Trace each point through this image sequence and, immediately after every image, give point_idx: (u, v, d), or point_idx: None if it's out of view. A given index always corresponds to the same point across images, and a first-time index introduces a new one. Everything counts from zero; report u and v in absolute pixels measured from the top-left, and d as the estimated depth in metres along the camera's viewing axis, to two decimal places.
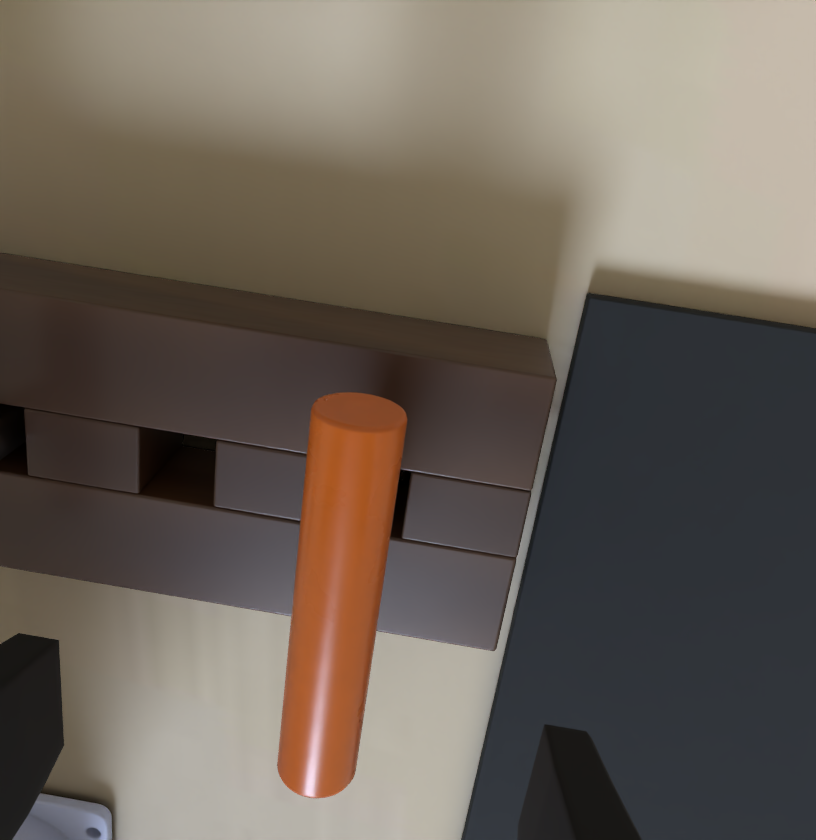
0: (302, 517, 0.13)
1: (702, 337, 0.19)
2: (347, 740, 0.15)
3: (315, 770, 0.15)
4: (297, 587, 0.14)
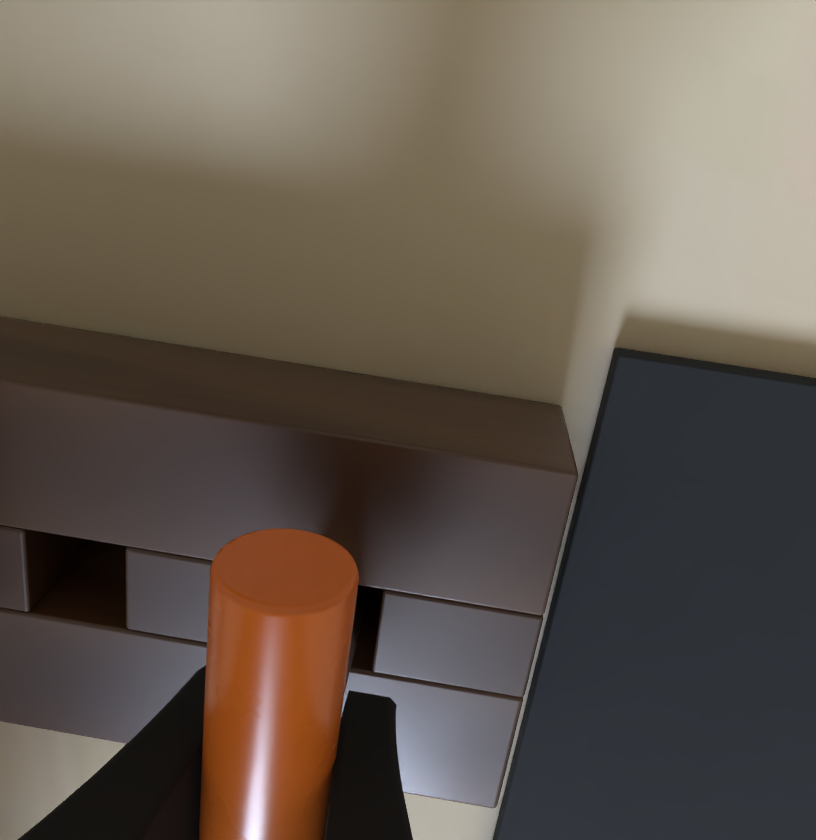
0: (204, 718, 0.09)
1: (767, 406, 0.14)
2: None
3: None
4: (202, 811, 0.09)
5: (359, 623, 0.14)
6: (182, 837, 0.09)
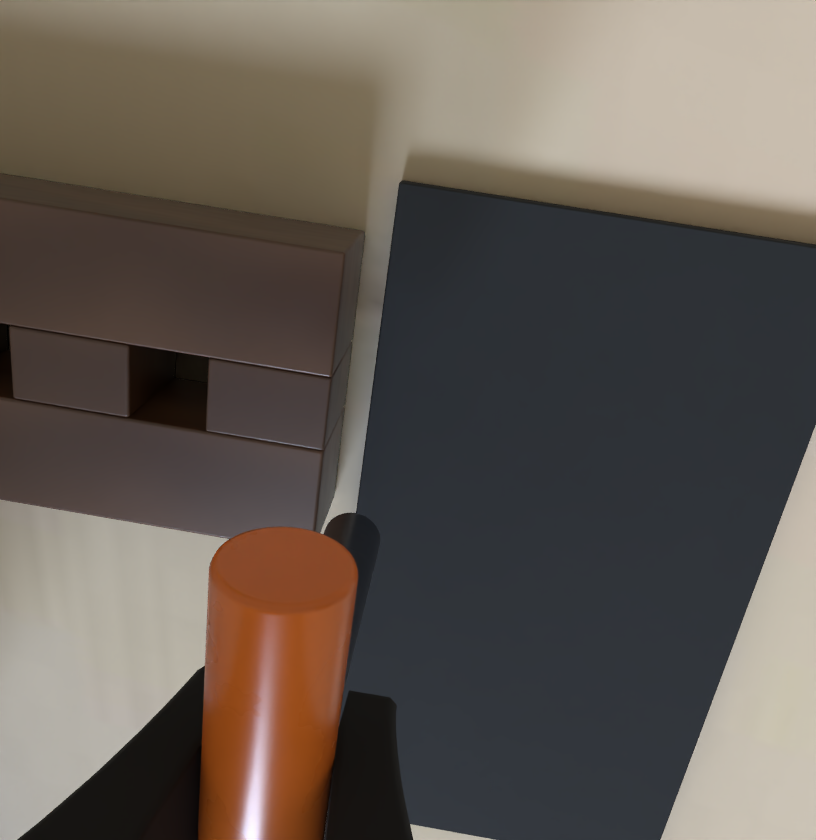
0: (203, 717, 0.09)
1: (517, 224, 0.18)
2: None
3: None
4: (201, 809, 0.09)
5: (358, 622, 0.14)
6: (182, 838, 0.09)
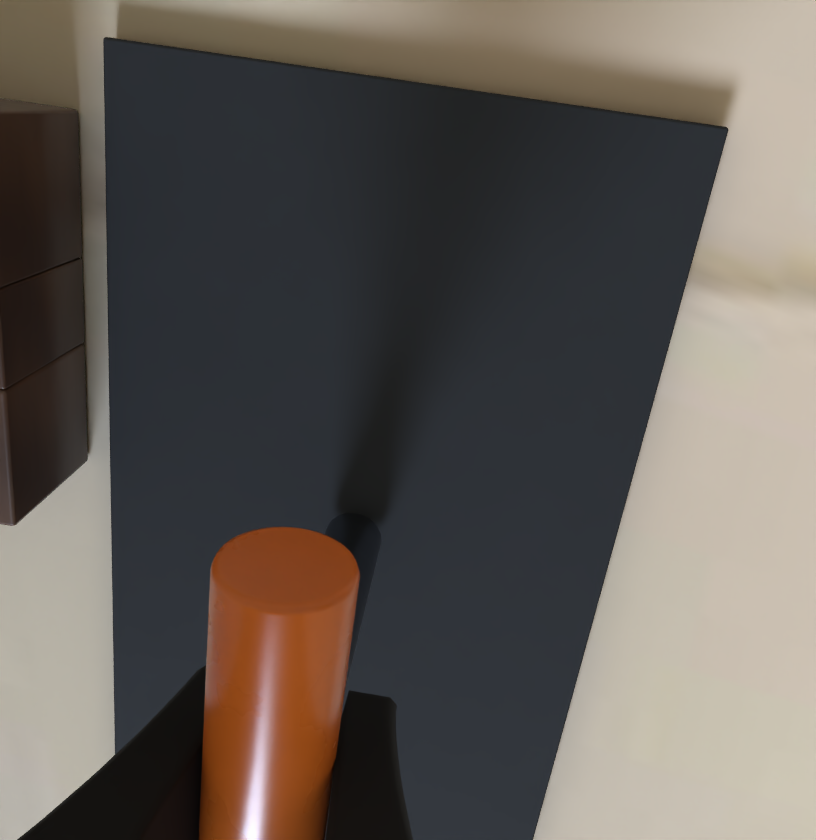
0: (204, 717, 0.09)
1: (259, 92, 0.14)
2: None
3: None
4: (202, 810, 0.09)
5: (359, 622, 0.14)
6: (182, 837, 0.09)
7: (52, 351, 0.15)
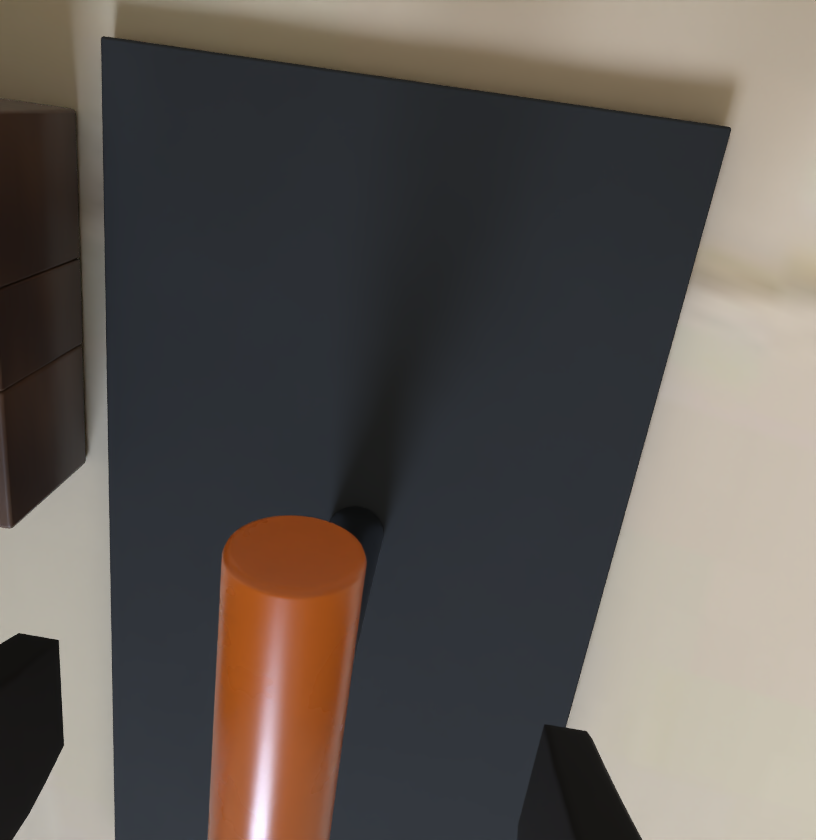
0: (215, 700, 0.09)
1: (258, 92, 0.14)
2: None
3: None
4: (212, 791, 0.10)
5: (363, 613, 0.14)
6: None
7: (49, 353, 0.15)
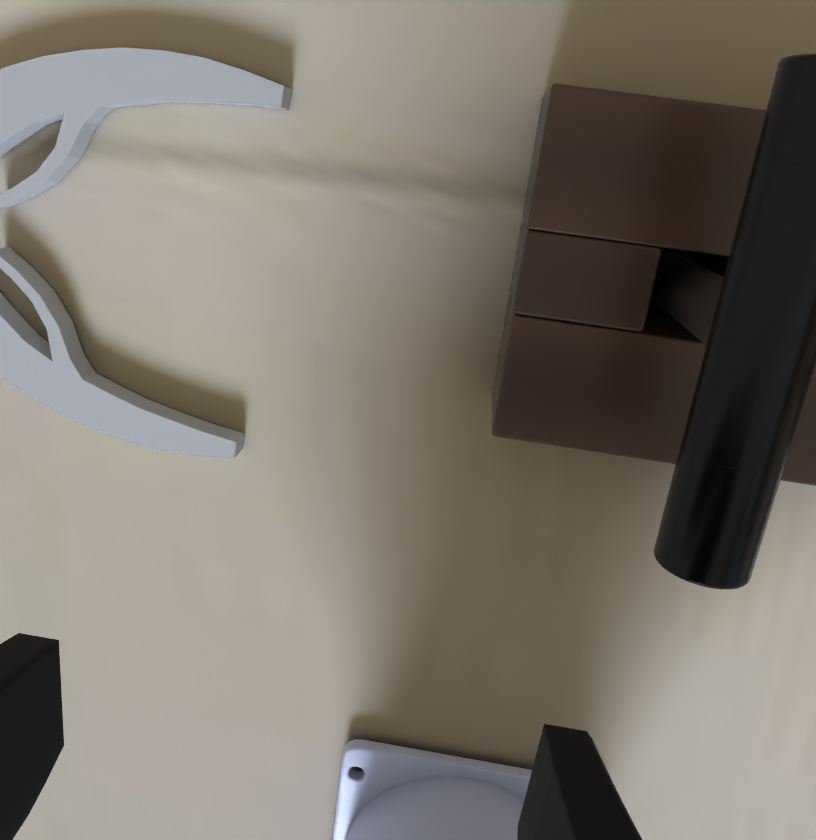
0: None
1: None
2: None
3: None
4: None
5: None
6: None
7: None
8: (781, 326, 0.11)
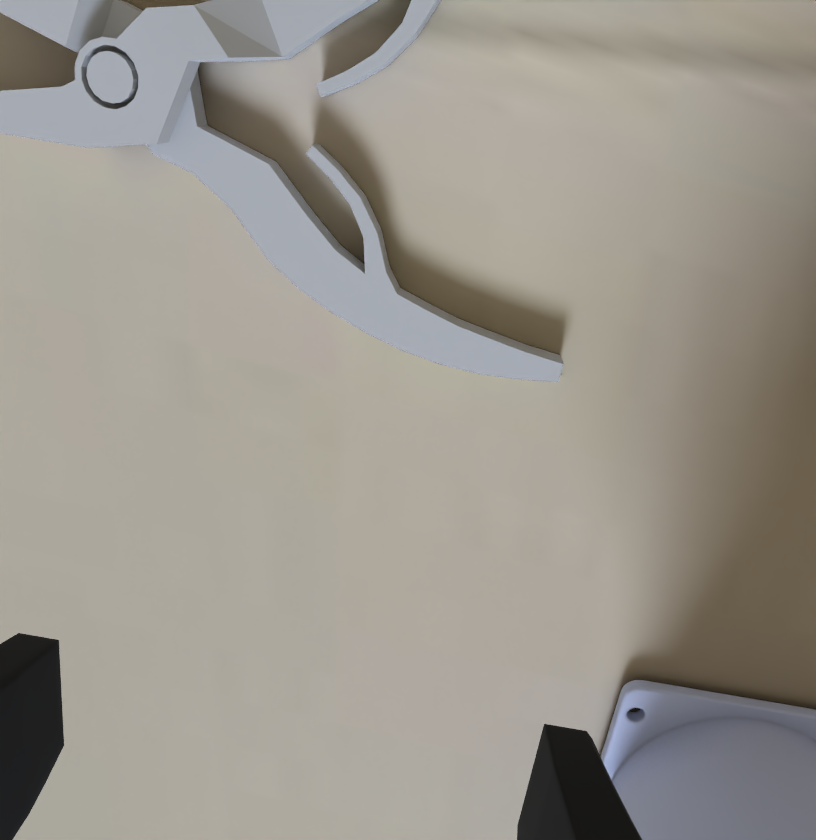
0: None
1: None
2: None
3: None
4: None
5: None
6: None
7: None
8: None
